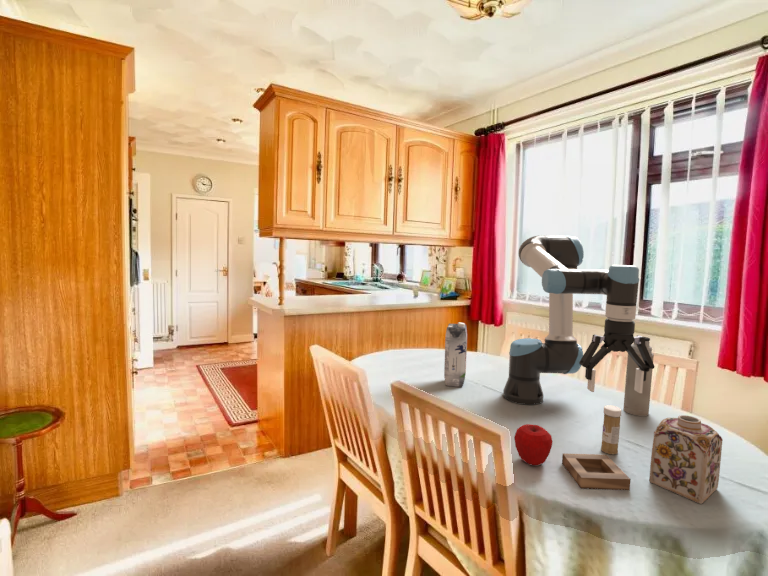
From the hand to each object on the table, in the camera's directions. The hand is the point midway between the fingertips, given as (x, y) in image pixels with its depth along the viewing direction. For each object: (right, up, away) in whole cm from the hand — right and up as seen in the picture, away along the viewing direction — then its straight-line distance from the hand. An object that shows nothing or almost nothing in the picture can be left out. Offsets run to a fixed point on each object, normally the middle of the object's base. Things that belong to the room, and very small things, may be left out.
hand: (614, 391), depth 121 cm
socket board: (-12, -20, -11) cm, 26 cm away
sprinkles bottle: (0, -19, +2) cm, 19 cm away
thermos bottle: (+26, -16, +32) cm, 44 cm away
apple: (-26, -19, -5) cm, 32 cm away
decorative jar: (+9, -21, -15) cm, 27 cm away
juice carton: (-36, -12, +60) cm, 71 cm away
